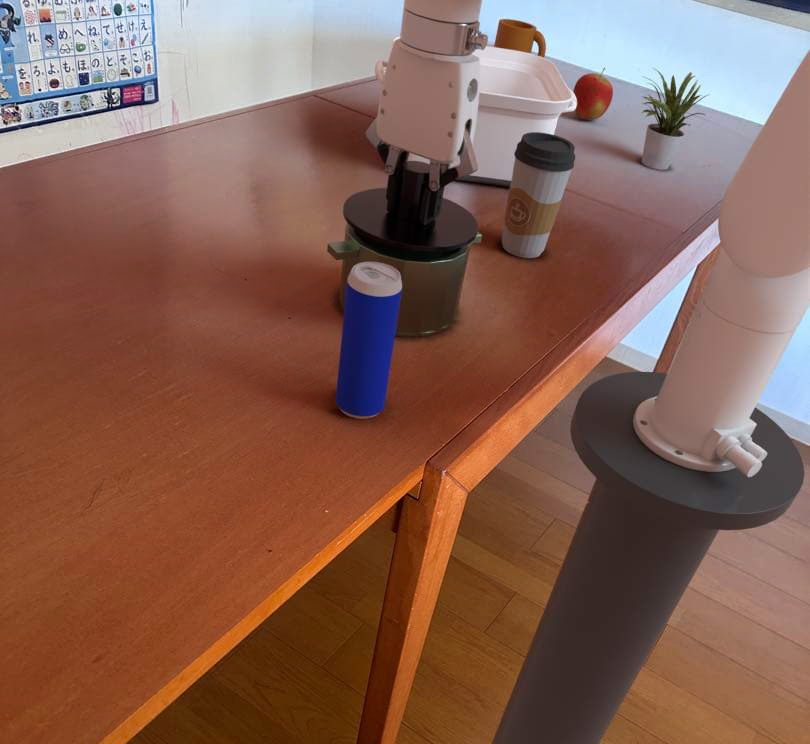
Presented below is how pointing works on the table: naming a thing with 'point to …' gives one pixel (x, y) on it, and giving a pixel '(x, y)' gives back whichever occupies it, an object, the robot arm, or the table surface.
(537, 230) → the coffee cup
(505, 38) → the mug
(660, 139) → the house plant
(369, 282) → the beverage can
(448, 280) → the cooker pot
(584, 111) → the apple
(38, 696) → the table surface
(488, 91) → the white storage tub
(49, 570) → the table surface
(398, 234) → the lid
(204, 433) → the table surface
